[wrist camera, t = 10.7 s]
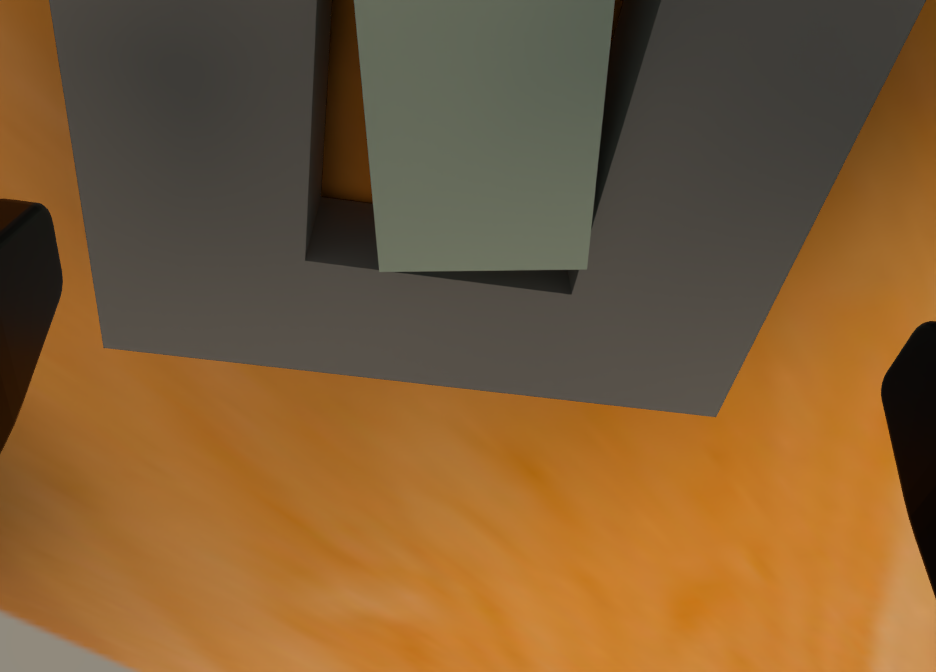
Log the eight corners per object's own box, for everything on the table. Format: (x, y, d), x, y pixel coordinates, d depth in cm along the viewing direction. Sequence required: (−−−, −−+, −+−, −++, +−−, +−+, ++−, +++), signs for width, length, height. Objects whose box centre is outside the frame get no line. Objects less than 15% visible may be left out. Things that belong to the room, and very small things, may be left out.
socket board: (693, 347, 22) (717, 420, 20) (137, 280, 20) (102, 350, 18) (1058, -472, 12) (1180, -497, 10) (23, -729, 10) (-84, -819, 8)
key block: (603, -257, 14) (638, -232, 11) (568, 179, 19) (586, 269, 16) (357, -255, 14) (332, -229, 11) (390, 181, 19) (379, 272, 16)
